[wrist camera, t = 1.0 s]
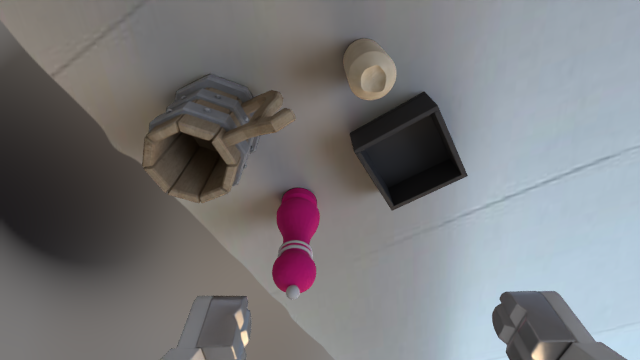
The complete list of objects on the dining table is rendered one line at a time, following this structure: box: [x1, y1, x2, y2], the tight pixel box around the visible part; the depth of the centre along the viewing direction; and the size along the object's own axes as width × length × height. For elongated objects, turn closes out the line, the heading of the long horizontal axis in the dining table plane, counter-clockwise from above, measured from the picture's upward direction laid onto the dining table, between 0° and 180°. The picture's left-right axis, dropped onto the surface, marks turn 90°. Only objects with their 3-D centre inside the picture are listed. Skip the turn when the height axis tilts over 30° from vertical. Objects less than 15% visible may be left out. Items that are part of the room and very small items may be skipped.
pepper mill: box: [272, 188, 320, 299], centre depth 48 cm, size 7×7×20 cm
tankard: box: [142, 74, 296, 203], centre depth 40 cm, size 20×13×15 cm, turn 114°
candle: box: [343, 39, 396, 100], centre depth 39 cm, size 6×6×10 cm
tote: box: [350, 92, 468, 210], centre depth 48 cm, size 13×12×6 cm
